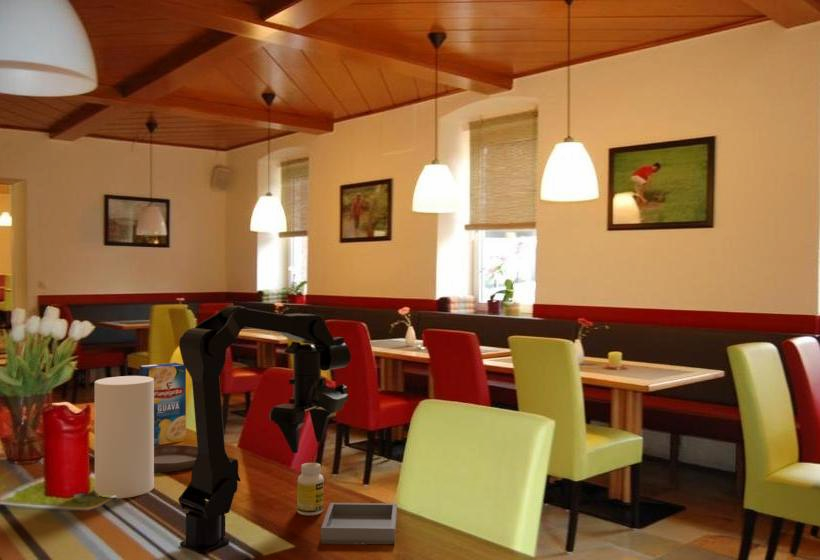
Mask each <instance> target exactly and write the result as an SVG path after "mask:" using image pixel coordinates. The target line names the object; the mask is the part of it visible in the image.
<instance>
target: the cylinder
mask: <svg viewBox="0 0 820 560" xmlns="http://www.w3.org/2000/svg"><path fill="white" fill-rule="evenodd" d="M154 447H155V446H154V379H153V378H151V377H146V376H139V375H123V376H121V375H119V376H112V377H103V378H99V379H97V380H95V381H94V492H95V491H96V492H97V493H98V494H100V495H116V496H117V498H116V499H127V498H132V497H138V496H141V495H144V494H147V493H149V492H151V491H152V490H153V489H154V487H155V471H154Z"/></svg>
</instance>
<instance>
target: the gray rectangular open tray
mask: <svg viewBox="0 0 820 560" xmlns="http://www.w3.org/2000/svg"><path fill="white" fill-rule="evenodd" d="M397 514H398V504H397V503H388V502H387V503H386V502H385V503H382V502H381V503H378V502H377V503H376V502H373V503H370V502H369V503H368V502H367V503H366V502H365V503H364V502H330V503H329V505H328V507H327V511H326V513H325V516H324V519H323V521H322V525H321V526H320V544H321V545H362V544H361V543H364V544H363V545H367V544H393V543H395V544H396V535H395V534H396V533H397V522H398V520H397V518H398V515H397ZM355 543H357V544H355Z"/></svg>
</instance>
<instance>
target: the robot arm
mask: <svg viewBox="0 0 820 560" xmlns="http://www.w3.org/2000/svg"><path fill="white" fill-rule="evenodd" d="M244 328H247V329H253V330H260V331H262V330H263V331H268V332H275V333H278V334H281V335H282V336H284V337H286V338H288V339H292V340H295V341H292V342H291V343H290V345H289V346H288V347H286V348H285V350H284V353H285V354H290V355H293V356H292V357H293V359H292V360H293V361H292V362H293V363H292V364H293V367H292V368H293V374H292V375H293V377H292V378H289V381H288V383H289V385H293V397H291V398H289V399H288V402H289V404H288V403H281V404H278V405H275V406H273V407H272V408H271V409H270V411H269V421H271V422H273V423H274V424H275V425H277V427H278V428H279V430H280V431H281V433H282V435H283V437H284V438H285V441H286V442H287V445H288V446H289V449H290V451H291V452H292V453H293V454H297V453H299V447H300V445H299V444H300V433H301V432H300V431H301V427H303V425H304V424H305V423H306V420H304V419H305V417H306V413H307V412H309V415H310V419H311V423H312V427H313V433H314V436H315V440H316V442H317V443H322V442H323V440H324V436H325V433H326V430H327V426H328V423H329V420H330V417H331V416H333V414H335V413H336V412H338V411H342V410H343V408H344V405H345V402H346V403H347V402H348V401H349V399H350V398H349V397H348V396H349V391H348V386H347V385H345V384H339V385H337V386H336V387H334V386H331V387H330V386H328V385H327V379H326V378H325V377H322V372H323V371H324V372H325V371H331V370H336V369H342V368H346V367H347V366H349V364H350V362H351V359H352V356H351V355H352V354H351V352H350V349H349V347H348V345H347V344H346V343H345V337H341V336H335V337H333V336H332V334H331V333H330V331H329V328H328V327H327V326H326V323H325V320H324V317H323V316H322V315H319V314H311V313H296V312H295V313H286V314H281V313H276V312H270V311H264V310H258V309H253V308H247V307H245V306H243V305H231V304H230V305H227V306H224V307H223V308H221V309H220V310H219V311H218V312H216V314H214V315H212V316H210V317H208V318H207V319H204V320H203V321H201V322H200V323H198V324H197V325H196V326H195V327H192V328H189V329H187V330H186V331H185V332H184V333H183V334H182V335H181V336H180V338H179V342H178V343H179V345H178V347H179V352H180V356H181V359H182V364H184V365H185V367H186V372H187V373H188V374H189V376H190V378H191V385H192V396H193V407H194V408H193V410H194V419H195V421H194V423H195V430H196V432H195V433H196V434H195V435H196V444H197V445H196V447H198V456H197V458H196V460H195V463H194V465H193V467H191V478H190V482H189V484H188V486H186V488H185V489H184V490H183V492H182V494H181V495H180V496H179V497H178V499H177V500H178V503H179V506H180V509H182V510H186V511H188V512H186V513H185V540H182V541H180V542H179V545H180V546H181V547H184V548H187V549H190V550H192V551H194V552H198V553H201V554H204V553H208V552H210V551H212V550H213V549H217V548H219V547H221V546H224V545H226V544H228V543H230V542H231V541H230V538H228V537H226V514H229V513H230V510H231V507H232V504H233V500H234V496H235V494H236V493H237V490H238V485H239V484H238V483H239V482H241V478H240V476H239V460H238V459H236V458H234V457H230V456H228V454H227V452H226V443H225V434H224V433H225V432H224V431H225V430H224V419H223V407H222V395H221V383H220V382H221V380H220V378H221V377H220V376H221V373H222V372H223V369H224V367H225V364H226V361H227V350H228V348H229V347H230V346H232V345H233V344H234V343H235V342H236V341H237V339H238V336H239V334H240V332H241V330H243V329H244ZM298 341H300V342H298ZM301 342H302V343H303V344H301Z"/></svg>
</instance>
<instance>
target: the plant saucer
mask: <svg viewBox="0 0 820 560" xmlns="http://www.w3.org/2000/svg"><path fill="white" fill-rule="evenodd" d="M197 456H198V446H197V445H196V446H194V445H187V444H186V445H184V444H182V445H181V444H178V445H177V444H172V445H158V446H154V472H156V473H157V472H158V473H160V472H161V473H162V472H163V473H165V472H168V473H169V472H178V471H184V470H188V469H192V467H193V465H194V463H195V460H196V458H197Z"/></svg>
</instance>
